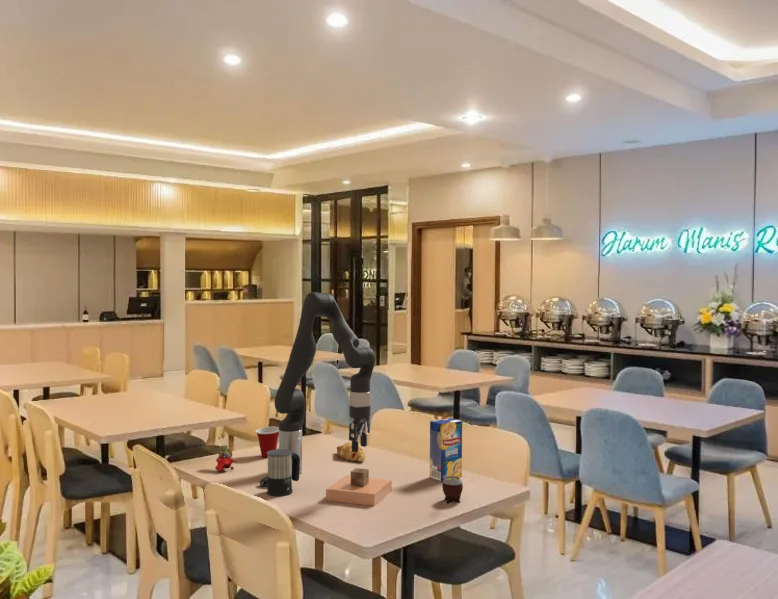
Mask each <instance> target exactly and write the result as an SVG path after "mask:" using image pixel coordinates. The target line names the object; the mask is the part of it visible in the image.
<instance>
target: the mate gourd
mask: <svg viewBox="0 0 778 599" xmlns="http://www.w3.org/2000/svg"><path fill="white" fill-rule="evenodd" d="M456 465H457V462H456V463H455V465H454V467H453V475H452V476H449V477H446V478H445V479H444V481H442V485H441V486H442V487H441V488H442V492H443V494H444V500H445V501H446V504H450V503H457V504H460V503H461V501H460V499H461V496H462V493H463V488H464V485H463V481H462V479H461V477H455V476H454V471H455V466H456Z"/></svg>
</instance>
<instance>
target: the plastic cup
mask: <svg viewBox="0 0 778 599" xmlns="http://www.w3.org/2000/svg"><path fill="white" fill-rule="evenodd" d="M255 433H256V434H257V437H258V438H257V439H258V444H259V449H260V454H261V457H262V458H267V459H268V454H267V452H268V451H271V450H276V449H278V448H277V447H278V443H279V426H263V427H259V428H257V429H256V430H255Z"/></svg>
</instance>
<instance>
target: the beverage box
mask: <svg viewBox="0 0 778 599" xmlns="http://www.w3.org/2000/svg"><path fill="white" fill-rule="evenodd" d="M456 462H457V465H456V466H455V471H454V476H455V477H459V478H461V477H463V420H461V419H456V418H452V417H449V418H444V419H443V418H441V419H437V420H436V419H435V420H430V421H429V478H431V479H433V480H437V481H439V482H443V481H444V479H445V478H446V477H449V476H452V475H453V467H454V465H455V463H456Z"/></svg>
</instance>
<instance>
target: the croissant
mask: <svg viewBox="0 0 778 599" xmlns="http://www.w3.org/2000/svg"><path fill="white" fill-rule="evenodd" d="M336 453H337V455H338V456H339V457H340V458H341V459H343V460H346V461H352V462H357V463H358V462H360V463H361V462H364V461H365V460H366V455H365V451H364V450H363V449H362V448H361V446H360V445H359V444H358V452H352V441H348V442H346V443H344V444H342V445H339V446H337V447H336Z"/></svg>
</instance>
